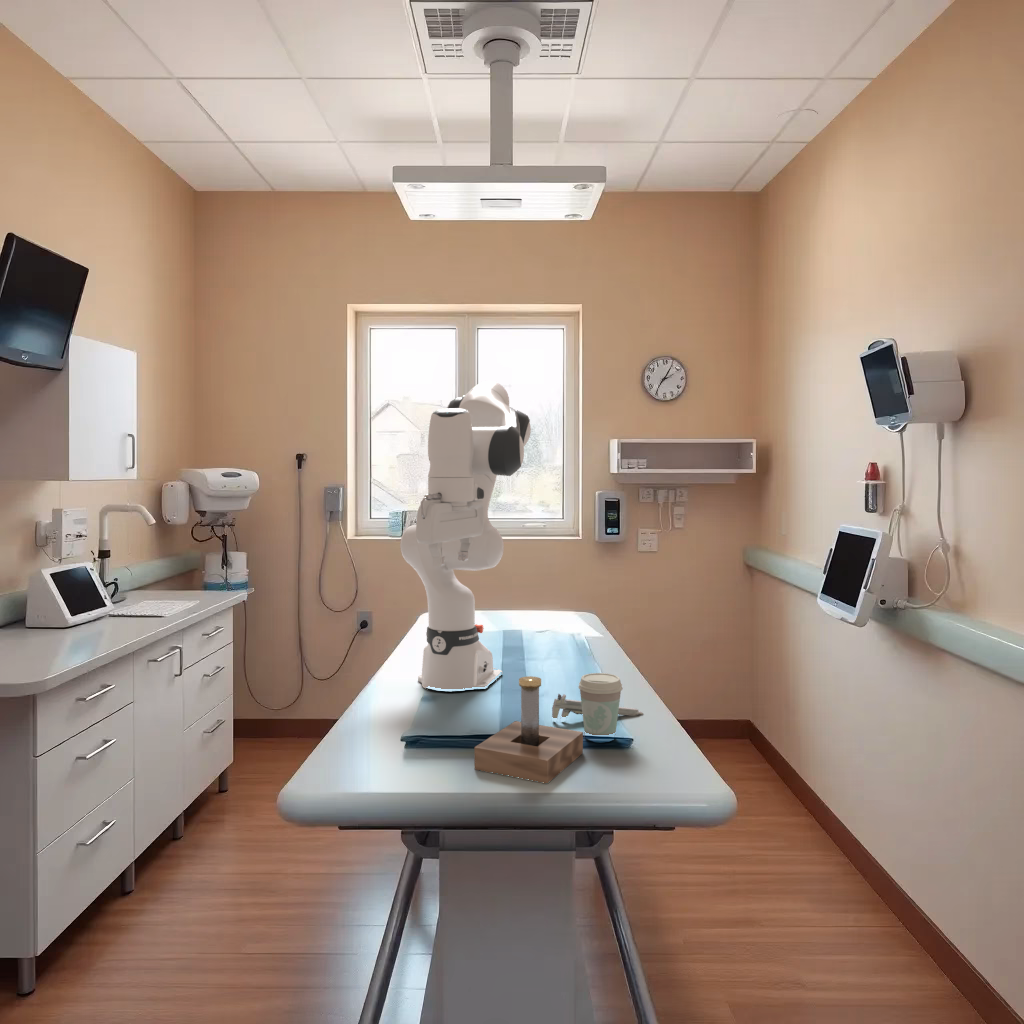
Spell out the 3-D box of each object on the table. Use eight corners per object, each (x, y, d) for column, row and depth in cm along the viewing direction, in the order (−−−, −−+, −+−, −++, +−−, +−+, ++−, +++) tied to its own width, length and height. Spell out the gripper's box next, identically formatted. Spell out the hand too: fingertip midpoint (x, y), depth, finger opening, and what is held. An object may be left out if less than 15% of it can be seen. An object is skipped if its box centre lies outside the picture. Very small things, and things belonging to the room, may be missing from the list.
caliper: (553, 725, 168) (554, 695, 168) (551, 723, 169) (552, 693, 169) (643, 715, 174) (644, 686, 174) (641, 714, 175) (641, 685, 175)
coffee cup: (569, 738, 159) (569, 677, 159) (596, 728, 165) (597, 669, 165) (603, 749, 153) (604, 686, 153) (630, 738, 159) (631, 677, 159)
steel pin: (519, 756, 150) (519, 676, 149) (541, 757, 149) (541, 676, 148) (518, 764, 146) (518, 682, 145) (540, 765, 145) (540, 682, 144)
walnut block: (515, 741, 158) (515, 721, 157) (582, 753, 151) (582, 732, 151) (474, 769, 143) (474, 747, 143) (547, 783, 137) (547, 760, 137)
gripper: (436, 494, 148) (436, 570, 149) (489, 490, 166) (490, 558, 167) (407, 494, 151) (407, 568, 152) (463, 489, 169) (463, 556, 170)
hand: (451, 563), depth 160 cm, fingers open, 8 cm apart
